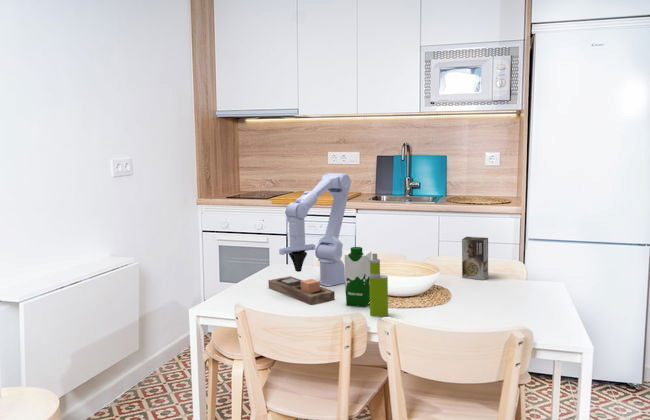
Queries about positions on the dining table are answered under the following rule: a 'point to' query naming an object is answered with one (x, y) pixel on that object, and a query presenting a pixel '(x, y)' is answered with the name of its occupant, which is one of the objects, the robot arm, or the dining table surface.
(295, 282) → the silver metal block
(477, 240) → the coffee box
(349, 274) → the milk carton
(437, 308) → the dining table surface
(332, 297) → the brown ladder-shaped frame
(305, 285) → the salmon pink cube
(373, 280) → the vape
